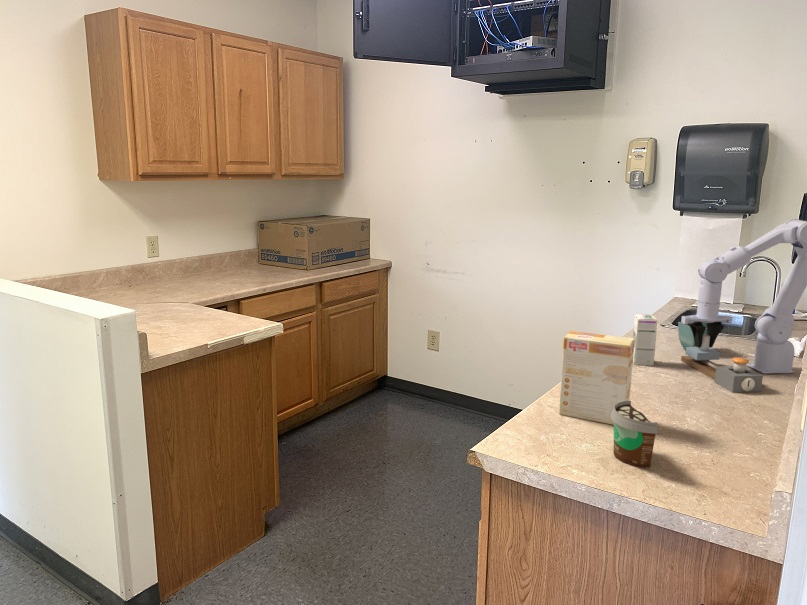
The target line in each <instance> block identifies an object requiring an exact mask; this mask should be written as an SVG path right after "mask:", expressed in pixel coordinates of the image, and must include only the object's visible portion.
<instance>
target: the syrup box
mask: <svg viewBox="0 0 807 605" xmlns="http://www.w3.org/2000/svg"><path fill="white" fill-rule="evenodd" d="M657 327H658V319H657V318H656V317H655V315H653V314H641V313H640V314H634V323H633V335H632V338H634V339H635V343H634V355H633V364H634V365H636V366H645V365H647V366H648V367H649V366H650V367H654V366H655V355H656V354H655V353H656V343H657V342H656V341H657V329H658V328H657Z"/></svg>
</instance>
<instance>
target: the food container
mask: <svg viewBox="0 0 807 605" xmlns="http://www.w3.org/2000/svg"><path fill="white" fill-rule="evenodd" d="M611 419H612V421H613V422H614V425H613V456H614V457H615V458H616V459H617V460H618V461H619V462H622V463H623V464H626V465H629V466H632V467H636V468H645V469H646V468H647V469H649V468H651V463H652V457H653V451H654V446H655V439H656V435H657V434H658V432H659V431H658V429H659V428H658V422H656V421H655V422H652V421H650V419H648V417H646V416H645V414H644V413H643V412H641V411H640V410H637V409H636V408H635V407H634V406H632V400H629V401H622V402H619V403H617V404H616V405H615V406H614V408H613V410H612V413H611Z"/></svg>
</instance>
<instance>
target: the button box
mask: <svg viewBox="0 0 807 605" xmlns="http://www.w3.org/2000/svg"><path fill="white" fill-rule="evenodd" d="M763 380H764V375H763V374H762V373H760V372H758V371H756V370H755V371H754V369H752V368H749V367H748V366H746V372H745V373H739V374H737V373H735V372H733V365H732V366H730V365H724V366H723V365H721V366H720V365H719V366H717V367H716V373H715V380H714V383H715V384H717V385H719V386H721V387H722V388H724V389H726V390H727V391H729V392H731V393H755V392H756V393H759V392H762V386H763Z"/></svg>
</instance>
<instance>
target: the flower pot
mask: <svg viewBox="0 0 807 605" xmlns="http://www.w3.org/2000/svg"><path fill="white" fill-rule="evenodd" d="M677 324H678V326H677V327H678V330H677V331H678V339H679V343H680V345H681V347H682V348H683V350H685V351H686V347H696V346H695V342H694V337H693V333H692V330H691V328H690V326H689V323H688V324H684V323H681V321H678V322H677ZM702 324H703V326H705V327H706V329H705V331H704V334H706V335H707V324H706V323H702ZM715 342H716V341H715ZM715 342H714V344H715ZM714 344H713V346H714ZM710 348H712V347H710Z"/></svg>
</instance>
